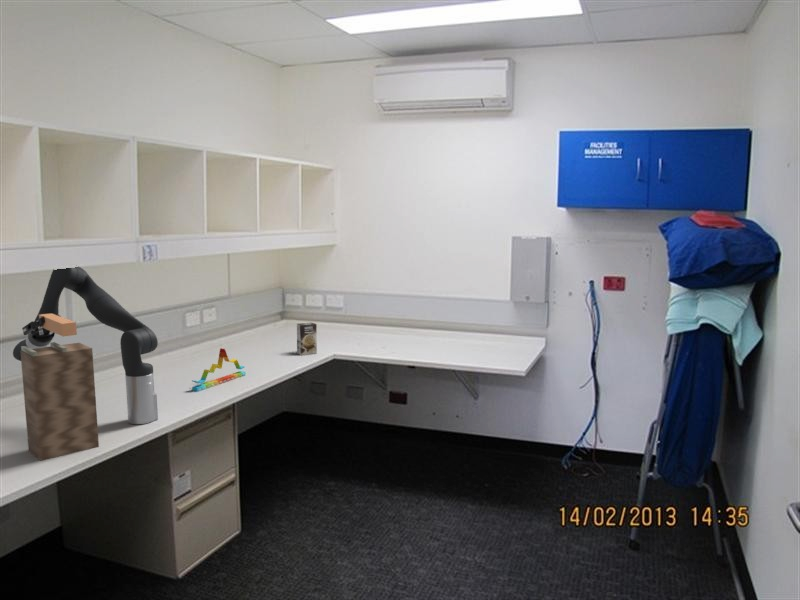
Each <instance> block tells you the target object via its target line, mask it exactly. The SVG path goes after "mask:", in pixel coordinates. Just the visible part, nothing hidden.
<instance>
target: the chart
mask: <svg viewBox="0 0 800 600" xmlns="http://www.w3.org/2000/svg"><path fill="white" fill-rule="evenodd" d="M224 362H227V363H233V364H234V366H235V369H237V370H238V371H237V372H234V373H233V372H232V373H231V374H228V375H225V376H221V377H218V378H216V379H213V380H209V381H206V380H207V378H208V375H209V373H212V374H214V373H215V370H216V369H221V370H222V369H223V363H224ZM243 369H245V366H243V365H240V363H239V361H238V359H236V358H231V359H230V360H229V355H228V354H227V351H226V349H225V348H219V353H218V358H217V364H214V363H212V365H211V366H210V369H206V368H205V369H204V370H203V372H202V375H201V378H200V379H199V380H191V382H193V383H195V384H198V385H194V386H192V387H191V391H192V392H196V393H197V392H201V391H204V390H207V389H210V388H212V387H215V386H218V385H222V384H224V383H227V382H230V381H234V380H237V379H240V378H241V377H245V376H246V375H247V374H246V371H242V370H243Z"/></svg>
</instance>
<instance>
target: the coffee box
mask: <svg viewBox="0 0 800 600" xmlns="http://www.w3.org/2000/svg"><path fill="white" fill-rule="evenodd" d="M317 325H318V324H317V323H315V322H302V323H296V354H298V355H299V356H307V355H310V356H311V355H316V354H317V355H318V345H317V344H318V343H317V342H318V340H317V334H318V333H317V331H318V330H317V328H318V327H317Z"/></svg>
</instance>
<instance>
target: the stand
mask: <svg viewBox="0 0 800 600" xmlns="http://www.w3.org/2000/svg"><path fill="white" fill-rule="evenodd" d="M49 345H50V346H47V347H43V348H35V349H30V348H29V347H27V346H21V350H20V352H21V361H20V362H21V373H22V386H23V396H24V397H23V398H24V410H25V423H26V437H27V447H28V452H30V453H31V454H32V455H33V456H34V457H36V458H37V460H39V461H40V462H41V461H44V460H48V459H53V458H57V457H61V456H65V455H70V454H74V453H77V452H78V453H79V452H81V451H82V452H83V451H86V450H90V449H95V448H99V447H100V442H99V429H98V428H99V427H98V413H97V402H96V400H97V399H96V398H97V397H96V387H95V386H96V383H95V371H94V370H95V369H94V368H95V367H94V356H93V347H90V346H88V345H86V344H84V343H82V342H74V343H67V344H59V343H57V342H55V341H53V342H52V341H51V342H50V344H49Z"/></svg>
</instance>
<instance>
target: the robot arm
mask: <svg viewBox="0 0 800 600" xmlns="http://www.w3.org/2000/svg"><path fill="white" fill-rule="evenodd" d="M64 289H67V290H69V291H72V292H74V293H75V294H76V295H78V296H79V297H80V298H82V299H83V300H84V302H85V306H86V309H87V311H89V313H90V314H91V315H92V316H93V317H94V318H95V319H96V320H97V321H99V322H100V323H101V324H104V325H105V326H107V327H111V328H113V329H116V330H118V331H121V332H123V333H122V334H121V337H120V342H119V343H120V352H121V360H122V361H121V363H122V367H123V369H124V372H125V373H124V374H125V376H124V377H125V390H126V405H127V406H126V408H127V422H128V423H129V424H131V425H143V424H144V425H145V424H149V423H153V422H154V421H157V420H158V419H159V412H158V410H159V409H158V395H157V393H156V392H155V379H154V365H152V364H151V363H148V362H143V360H142V355H145V354H150V353H152V352H154V351H155V350H156V349H157V348H158V346H159V342H158V337H157V335H156V334H155V333H154V331H153V330H152V329H151V328H149V326H147V325H146V324H144V323H143V322H141V321H140V320H138V319H137V318H136V317H135V316H133V315H132V314H131V313H130V312H129V311H128V310H127V309H125V308H124V307H123V305H121V304H120V303H119V302H118V301H117V300H116V299H115V298H114V297H113V296H111V295H110V294H109V293H108V292H107V291H106V290H105V289H103V288H102V287H101V286H99V285H98V284H97V283H96V282H95V281H94V280H93V278H92V277H91V276H90V274H89V273H88V272H87V271H86V270H85V269H84V268H83V267H80V266H78V267H75V268H66V269H57V270H54V269H52V272H51V274H50V277H49V281H48V284H47V286H46V289H45V293H44V296H43V300H42V302H41V305H40V306H41V307H40V308H39V311H38V313H37V315H36V317H35V319H34V321H30V322H29V323H28V324H26V325H24V326H23V327H22V328H21V329H22V332H23V333H22V334H23V335H24V336H26V338H25V339H23V340H21V341H19V342H18V343H17V344H16V345H15V346H14V348H13V351H12V356H13V358H14V359H15V360H17V361H20V362H21V352H20V350H21V346H27V347H29V348H30V349H35V348H43V347H49V345H50V343H52V341H53V339H54V337H55V334H56V333H54V332H51V331H49V330H47V329H44V328H42V326H43V325H44V323H45V318H44V316H42V317H41V318H39V315H41V314H51V313H52V314H55V315H57V316H60V317H62V316H61V315H60V314H59V311H60V309H59V302H60V298H61V294H62V293H63V290H64Z"/></svg>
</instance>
